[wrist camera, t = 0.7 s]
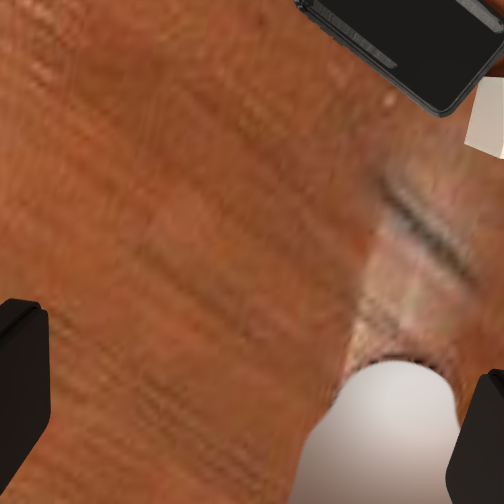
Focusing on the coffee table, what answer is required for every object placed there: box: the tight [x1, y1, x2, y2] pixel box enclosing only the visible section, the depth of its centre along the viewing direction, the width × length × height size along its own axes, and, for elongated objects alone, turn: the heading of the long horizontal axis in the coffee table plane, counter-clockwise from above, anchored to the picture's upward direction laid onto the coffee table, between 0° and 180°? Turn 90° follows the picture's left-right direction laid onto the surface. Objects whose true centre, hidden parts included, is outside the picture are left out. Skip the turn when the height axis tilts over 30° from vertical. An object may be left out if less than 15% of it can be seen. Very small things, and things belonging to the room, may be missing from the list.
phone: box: [294, 0, 504, 118], centre depth 35 cm, size 8×1×15 cm
